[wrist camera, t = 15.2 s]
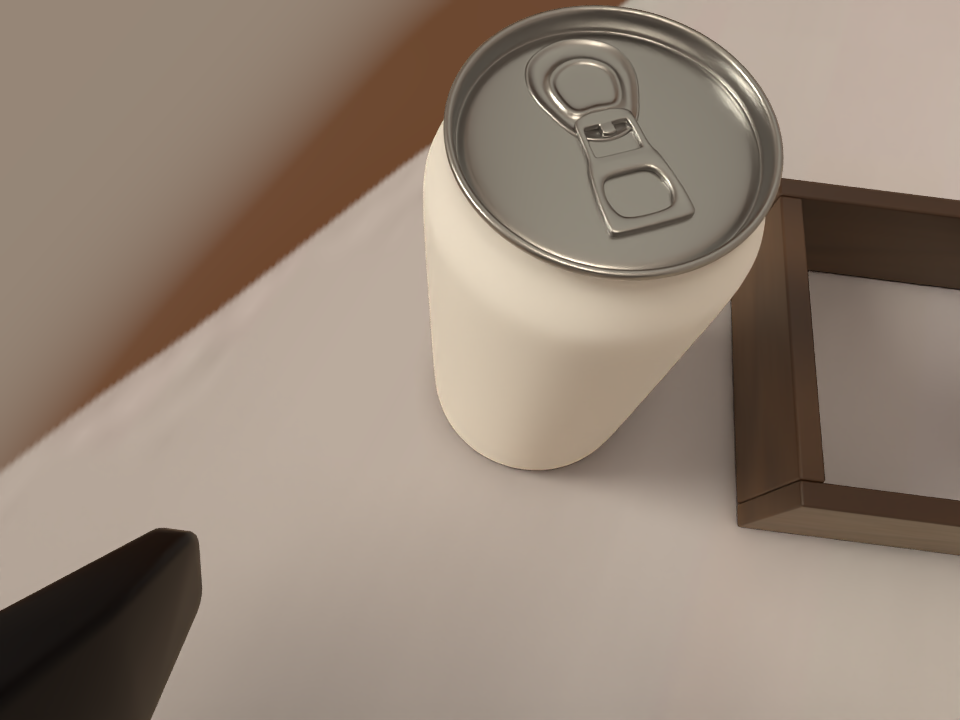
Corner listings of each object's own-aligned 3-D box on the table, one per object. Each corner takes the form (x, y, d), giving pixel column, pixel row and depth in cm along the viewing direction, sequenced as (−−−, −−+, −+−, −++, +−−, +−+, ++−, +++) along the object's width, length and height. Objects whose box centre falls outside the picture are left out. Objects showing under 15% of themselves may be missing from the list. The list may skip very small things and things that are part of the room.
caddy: (1067, 569, 20) (1207, 558, 16) (736, 526, 20) (801, 506, 16) (1005, 279, 24) (1106, 217, 20) (728, 244, 24) (779, 176, 20)
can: (584, 274, 23) (707, -42, 12) (656, 440, 21) (886, 241, 10) (412, 320, 22) (372, 24, 11) (468, 500, 20) (488, 354, 9)
